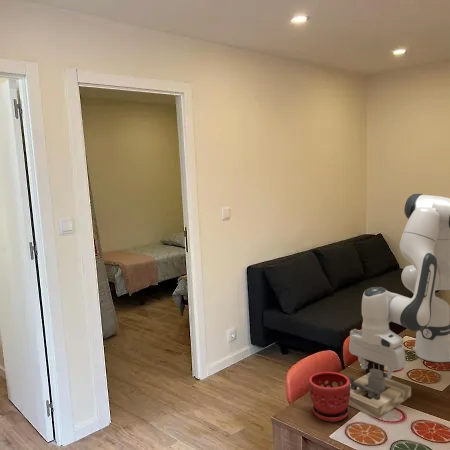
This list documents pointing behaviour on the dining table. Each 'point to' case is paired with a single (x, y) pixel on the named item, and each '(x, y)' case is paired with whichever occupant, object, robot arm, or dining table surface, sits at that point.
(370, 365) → the coffee mug
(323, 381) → the plant pot
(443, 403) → the dining table surface
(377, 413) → the tidy board
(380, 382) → the power adapter
